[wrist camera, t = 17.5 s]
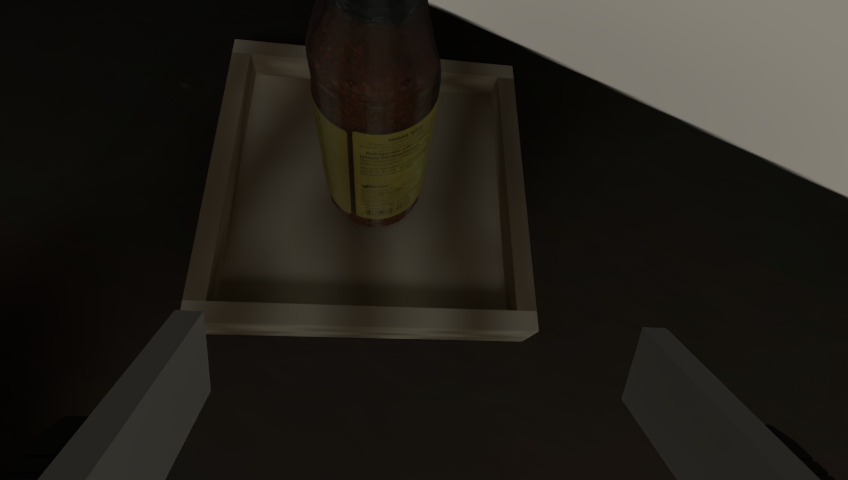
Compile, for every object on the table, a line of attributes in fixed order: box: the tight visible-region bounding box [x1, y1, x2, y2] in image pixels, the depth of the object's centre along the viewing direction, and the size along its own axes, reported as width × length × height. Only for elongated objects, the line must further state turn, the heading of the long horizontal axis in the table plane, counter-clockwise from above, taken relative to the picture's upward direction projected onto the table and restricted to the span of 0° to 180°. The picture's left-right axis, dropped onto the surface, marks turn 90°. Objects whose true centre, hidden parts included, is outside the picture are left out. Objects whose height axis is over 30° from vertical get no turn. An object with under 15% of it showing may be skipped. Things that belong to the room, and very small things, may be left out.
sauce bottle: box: [305, 0, 441, 227], centre depth 23 cm, size 6×6×20 cm
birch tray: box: [180, 39, 539, 341], centre depth 32 cm, size 20×20×3 cm
